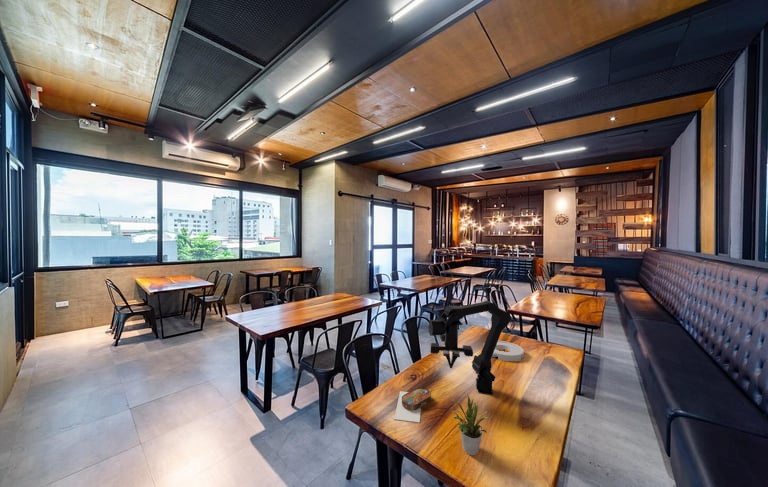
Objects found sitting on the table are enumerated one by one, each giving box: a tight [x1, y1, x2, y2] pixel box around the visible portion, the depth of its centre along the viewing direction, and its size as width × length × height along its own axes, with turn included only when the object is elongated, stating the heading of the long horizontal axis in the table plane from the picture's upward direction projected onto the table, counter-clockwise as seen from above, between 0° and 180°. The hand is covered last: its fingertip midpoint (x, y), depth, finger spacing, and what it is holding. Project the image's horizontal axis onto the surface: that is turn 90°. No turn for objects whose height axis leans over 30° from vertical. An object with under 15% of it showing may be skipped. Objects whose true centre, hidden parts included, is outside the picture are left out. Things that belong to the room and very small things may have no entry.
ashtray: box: [482, 340, 525, 362], centre depth 174 cm, size 23×23×4 cm
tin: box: [402, 387, 432, 410], centre depth 122 cm, size 15×3×8 cm
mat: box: [393, 390, 422, 424], centre depth 119 cm, size 10×20×1 cm, turn 170°
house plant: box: [451, 393, 490, 456], centre depth 96 cm, size 14×14×16 cm
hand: (450, 367), depth 128 cm, fingers closed
